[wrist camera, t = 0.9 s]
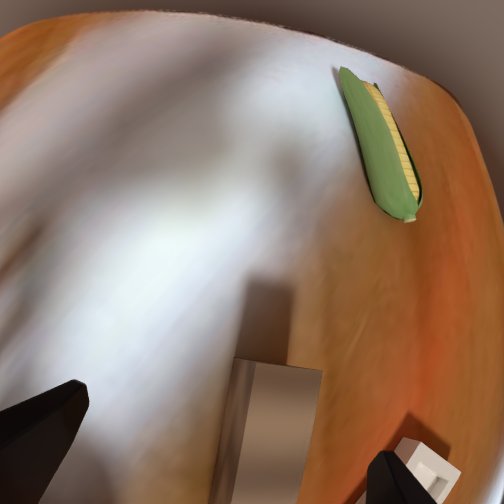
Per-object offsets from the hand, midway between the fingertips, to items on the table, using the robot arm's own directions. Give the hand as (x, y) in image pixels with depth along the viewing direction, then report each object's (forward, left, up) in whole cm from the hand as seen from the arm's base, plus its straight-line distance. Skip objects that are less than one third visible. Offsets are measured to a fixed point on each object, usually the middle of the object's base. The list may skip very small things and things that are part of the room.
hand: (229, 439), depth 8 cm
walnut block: (-5, -5, -14) cm, 16 cm away
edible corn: (+25, -13, -14) cm, 32 cm away
